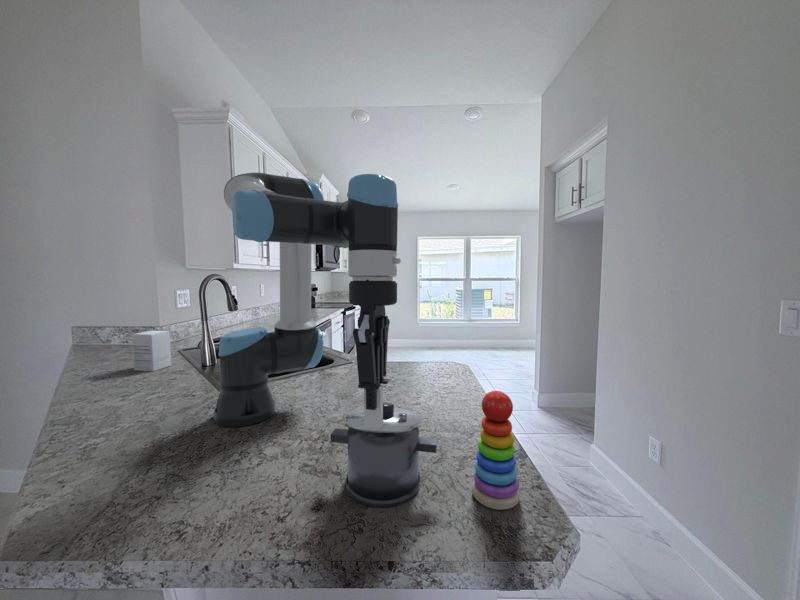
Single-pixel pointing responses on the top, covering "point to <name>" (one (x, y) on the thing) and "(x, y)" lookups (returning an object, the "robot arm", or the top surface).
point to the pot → (383, 465)
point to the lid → (386, 420)
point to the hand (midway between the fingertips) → (373, 425)
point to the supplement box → (151, 350)
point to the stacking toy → (496, 455)
